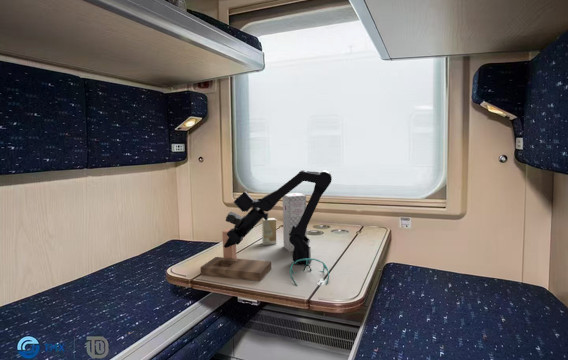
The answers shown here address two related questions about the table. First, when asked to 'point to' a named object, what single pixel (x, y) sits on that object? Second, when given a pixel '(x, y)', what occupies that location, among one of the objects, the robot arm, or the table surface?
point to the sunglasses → (309, 267)
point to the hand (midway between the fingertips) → (226, 245)
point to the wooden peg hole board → (236, 268)
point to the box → (292, 215)
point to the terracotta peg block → (229, 251)
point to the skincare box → (269, 231)
